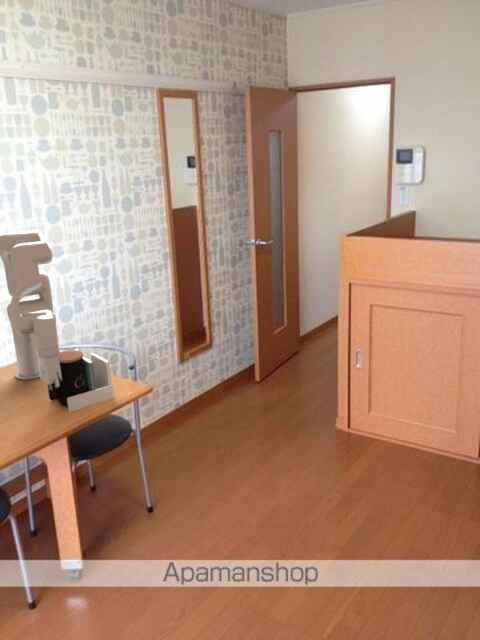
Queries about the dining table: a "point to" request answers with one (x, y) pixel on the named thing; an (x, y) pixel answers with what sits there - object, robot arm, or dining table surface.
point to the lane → (101, 383)
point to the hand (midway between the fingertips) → (54, 398)
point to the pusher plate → (89, 374)
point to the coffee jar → (71, 375)
